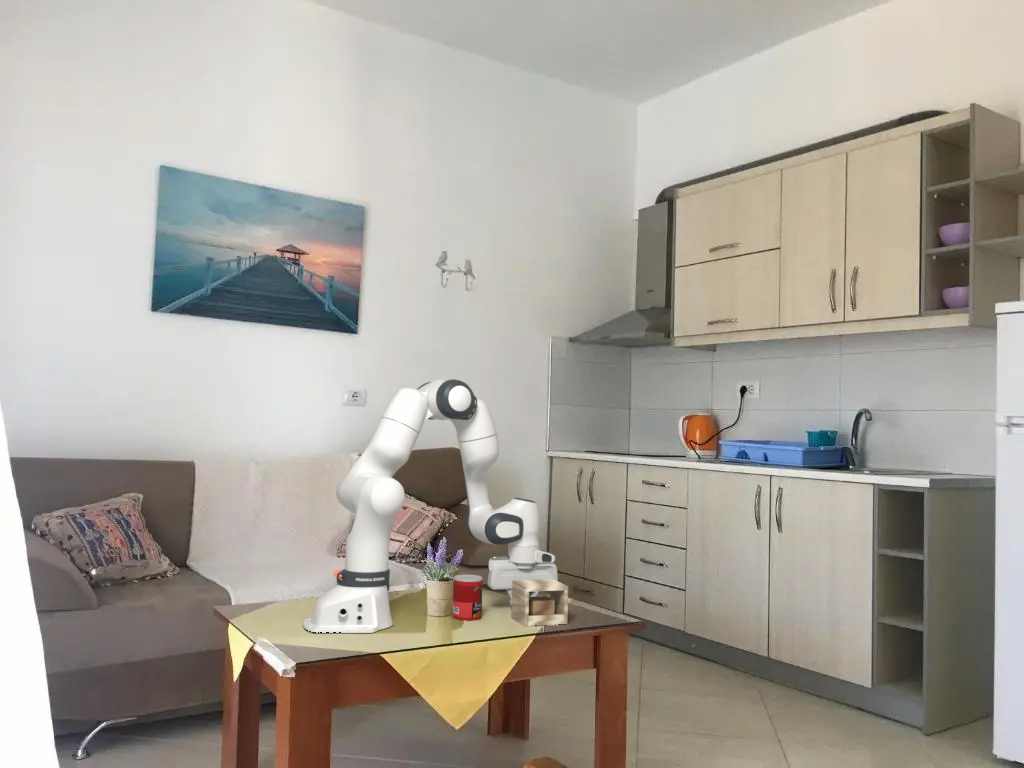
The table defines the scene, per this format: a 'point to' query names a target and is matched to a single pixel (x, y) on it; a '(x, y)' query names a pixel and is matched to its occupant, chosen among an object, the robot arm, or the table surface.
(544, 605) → the partly hidden dark block
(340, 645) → the table surface
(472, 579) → the canned food
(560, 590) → the oak cubby
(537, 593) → the robot arm
